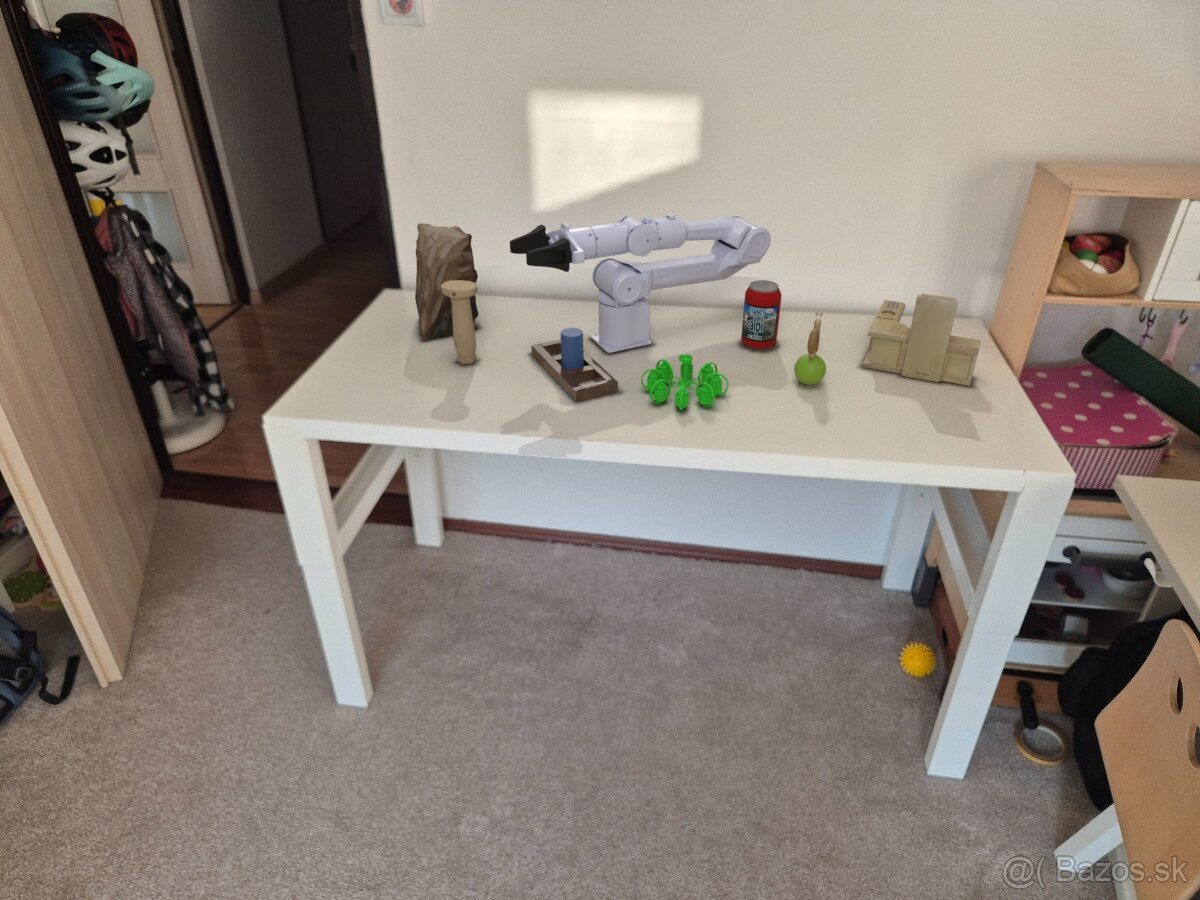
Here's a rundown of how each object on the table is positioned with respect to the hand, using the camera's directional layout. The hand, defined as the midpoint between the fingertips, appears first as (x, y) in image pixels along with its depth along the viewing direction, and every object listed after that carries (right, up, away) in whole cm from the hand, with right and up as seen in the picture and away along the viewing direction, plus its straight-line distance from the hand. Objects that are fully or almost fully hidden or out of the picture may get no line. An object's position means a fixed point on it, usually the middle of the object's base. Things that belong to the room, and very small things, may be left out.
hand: (518, 252), depth 145 cm
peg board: (+9, -20, +8) cm, 23 cm away
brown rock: (-18, -10, +25) cm, 32 cm away
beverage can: (+45, -14, +17) cm, 50 cm away
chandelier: (+29, -25, 0) cm, 38 cm away
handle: (-11, -18, +12) cm, 24 cm away
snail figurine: (+51, -22, +4) cm, 56 cm away
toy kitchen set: (+74, -18, +11) cm, 77 cm away
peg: (+9, -20, +8) cm, 23 cm away
